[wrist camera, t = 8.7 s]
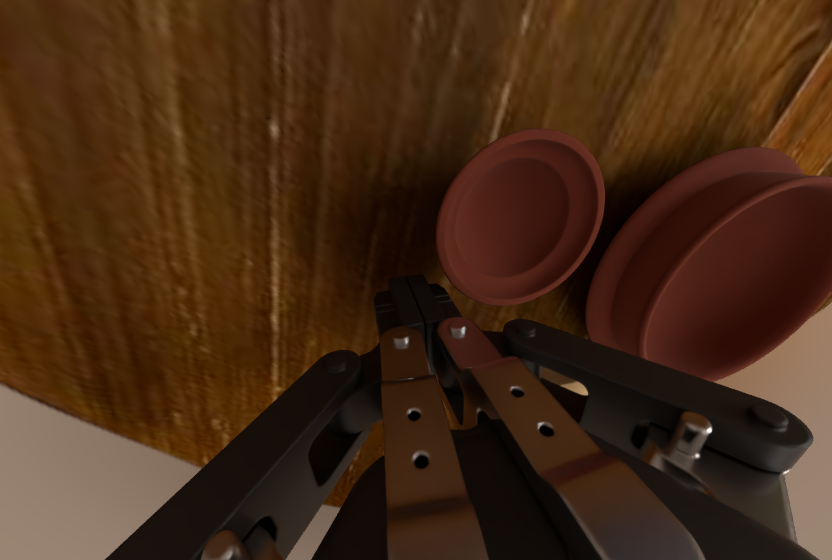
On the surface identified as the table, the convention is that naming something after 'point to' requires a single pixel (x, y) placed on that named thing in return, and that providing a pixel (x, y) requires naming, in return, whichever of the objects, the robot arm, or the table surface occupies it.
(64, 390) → the table surface
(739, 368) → the pottery
